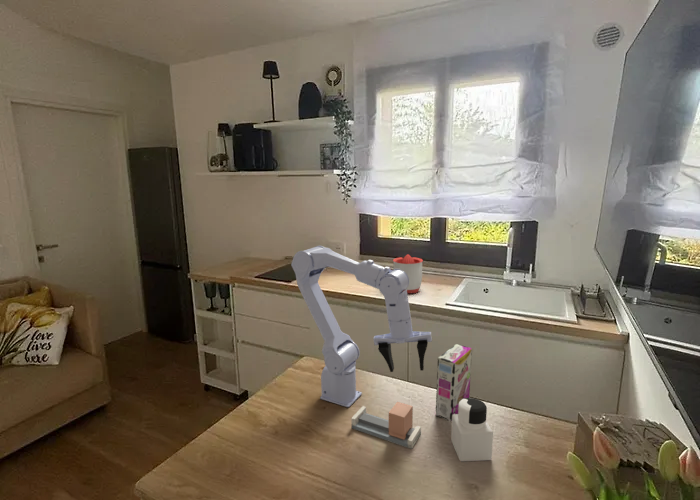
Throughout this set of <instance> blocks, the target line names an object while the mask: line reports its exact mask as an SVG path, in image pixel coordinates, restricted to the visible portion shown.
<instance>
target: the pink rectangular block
mask: <svg viewBox="0 0 700 500" xmlns="http://www.w3.org/2000/svg"><path fill="white" fill-rule="evenodd" d="M413 408H414V407H413V405H410V404H406V403H403V402H400V401H397V402H396V403H395V404H394V405H393V406H392V408H391V409H390V410H389V412H388V420H389V435H391V436H394V437H397V438H400V439H403V440H405V438H406V434H407V432H408V431H409V429H412V428H414V427H413V423H414V421H413V415H414V414H413V413H414V409H413Z"/></svg>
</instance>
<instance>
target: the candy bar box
mask: <svg viewBox="0 0 700 500" xmlns="http://www.w3.org/2000/svg"><path fill="white" fill-rule="evenodd" d="M472 355H473V348H472V347H469V346H464V345H461V344H457V343H456V344H454V345H453V346H452V347H450V348H449V349H447V351H445V352H444V353H442V354H441V355H439V356H438V357H437V369H436V372H437V373H436V397H435V416H437V417H439V418H442V419H444V420H445V421H446V420H447V421H449V422H452V415H453V414H458V408H459V402H460V401H461V400H462V399H464V398H470V391H471V375H472V374H471V372H472V357H473V356H472Z"/></svg>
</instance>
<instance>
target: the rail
mask: <svg viewBox="0 0 700 500" xmlns="http://www.w3.org/2000/svg"><path fill="white" fill-rule="evenodd" d="M351 429H353V430H356V431H359V432H362V433H364V434H368V435H370V436H373V437H377V438H379V439H381V440H385V441H387V442H391V443H393V444H396V445H398V446H402V447H404V448H408V449H410V450H411V449H413V447H414V446H415V444H416V443H417V442H418V439H419V438H420V436H421V433H422V427H421V426H419V425H416V426H415V427H412V429H409V431H408V432H407V434H406V438H405V440H403V439H400V438H397V437H394V436H391V435H389V419H385V418H383V417H379V416H377V415H373V414H369V413H367V406H365V405H362V406H361V407H360V408H359V409H358V410H357V412H356V413H354V414H353V416H352V417H351Z"/></svg>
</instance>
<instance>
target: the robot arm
mask: <svg viewBox="0 0 700 500" xmlns="http://www.w3.org/2000/svg"><path fill="white" fill-rule="evenodd" d="M290 265H291V268H292V270H293V271H294V274H295V279H296V285H297V288H298V289H299V291H300V293H301V295H302V297H303V300H304V301H305V303H306V306H307V307H308V310H309V312H310V314H311V316H312V318H313V320H314V322H315V324H316V326H317V328H318V331H319V333H320V334H321V338H322V339H323V341H324V342H323V345H322V349H321V353H322V355H323V358H324V359H323V360H324V365H325V366H324V367H323V369H322V371H321V376H320V380H321V381H320V383H321V395H320V396H319V399H320V400H323V401H327V402H330V403H333V404H335V405H336V404H337V405H338V406H342V407H346V408H350V407H351V406H352V405H353V403H355V402H356V401H357V400H358V399H359V398H360V397H361V396H362V395H363V392H362V391H359V390H357V385H356V384H357V378H356V377H357V375H356V371H357V369H356V364H357V360H358V359H359V357H360V354H361V353H360V351H361V350H360V348H359V346H358V344H357V343H355V342H354V340H353V339H352V338H351V336H350V335H349V334H347V333H346V332H343V331H342V330H341V327H340V325H339V323H338V321H337V319H336V316H335V315H334V313H333V311H332V308H331V306H330V305H329V303H328V301H327V299H326V296H325V294H324V292H323V290H322V288H321V286H320V283H319V280H320V276H321V274H322V273H323V272H324V270H325V269H326V268H327V267H329V268H332V269H336V270H339V271H341V272H345V273H348V274H351V275H353V276H355V278H356V281H358V282H360V283H362V284H364V285H367V286H370V287H372V288H375V289H377V290H379V292H380V294H381V295H382V296H383V298H384V302H385V307H386V308H385V309H386V315H387V322H388V329H389V333H385V334H384V333H383V334H378V335H374V336H373V338H372V339H373V345H374V346H378V349H377V350H378V352H379V353H380V355H382V357H383V358H384V360H385V362H386V364H387V366H388V369H389V372H390V373H393V372H394V370H395V363H394V360H393V359H394V358H393V355H392V354H393V353H392V345H391V344H404V343H417V344H416V350H417V353H418V359H419V369H420V371H424V369H425V368H424V366H425V363H424V362H425V361H424V360H425V355H426V352H427V348H428V343H431V342H432V341H433V338H432V331H413V330H414V329H413V322H412V317H411V316H412V315H411V311H410V310H411V309H410V302H409V295H408V293H407V290H405V289H406V288H407V287H408V285H409V278H408V275H407V274H406V273H405V272H404V271H402V270H401V269H391V267H390V266H385V267H384V266H383V265H380V264H376V263H375V262H374V260H372V259H368V260H367V259H366V260H362V261H361V262H359V261H357V260H355V259H351V258H350V257H347V256H345V255H342V254H340V253H338V252H336V251H333V249H331V248H330V247H325V246H323V245H316V246H314V247H311V248H308V249H305V250H299V251H297V252H296V253H295V254H294V255H293V258H292V260H291V264H290ZM404 290H405V291H404ZM402 291H403V292H402Z"/></svg>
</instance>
